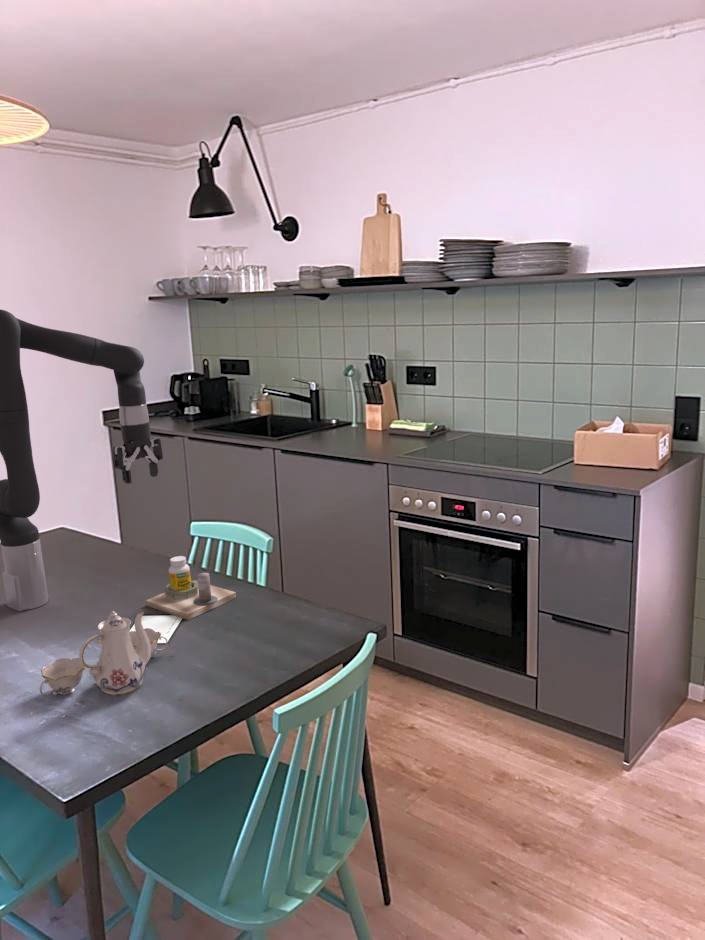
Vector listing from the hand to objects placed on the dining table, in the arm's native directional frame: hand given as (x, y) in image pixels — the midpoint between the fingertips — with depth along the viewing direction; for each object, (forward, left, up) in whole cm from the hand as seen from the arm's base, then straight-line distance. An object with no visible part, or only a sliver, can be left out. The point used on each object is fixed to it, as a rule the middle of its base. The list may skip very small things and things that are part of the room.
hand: (141, 479), depth 209 cm
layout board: (-6, -24, -28) cm, 37 cm away
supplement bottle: (-6, -20, -27) cm, 34 cm away
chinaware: (-42, -42, -28) cm, 66 cm away
